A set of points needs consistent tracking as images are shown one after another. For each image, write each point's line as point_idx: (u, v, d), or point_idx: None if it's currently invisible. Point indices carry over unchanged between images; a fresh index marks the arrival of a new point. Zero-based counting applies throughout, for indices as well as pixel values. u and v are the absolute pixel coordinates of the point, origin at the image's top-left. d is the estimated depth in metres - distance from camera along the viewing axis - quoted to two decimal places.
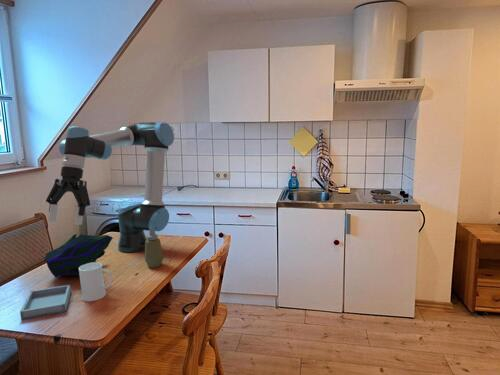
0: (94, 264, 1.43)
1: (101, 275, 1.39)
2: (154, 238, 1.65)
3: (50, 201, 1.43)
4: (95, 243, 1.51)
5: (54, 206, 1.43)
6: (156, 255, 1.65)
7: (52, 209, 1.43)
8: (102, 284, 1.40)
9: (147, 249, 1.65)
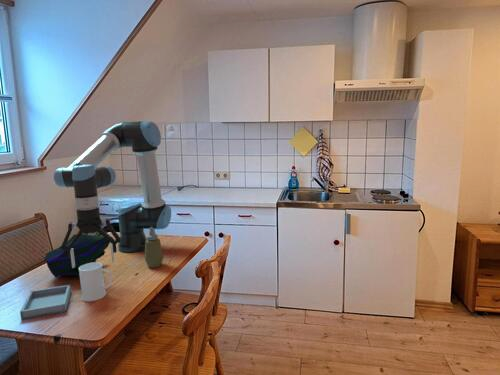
0: (94, 264, 1.43)
1: (101, 275, 1.39)
2: (154, 238, 1.65)
3: (68, 248, 1.34)
4: (95, 243, 1.51)
5: (73, 251, 1.35)
6: (156, 255, 1.65)
7: (73, 255, 1.35)
8: (102, 284, 1.40)
9: (147, 249, 1.65)
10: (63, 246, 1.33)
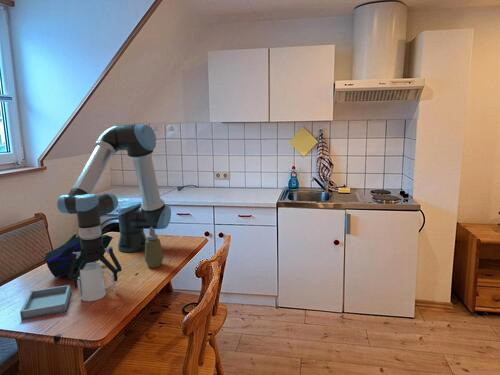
0: (94, 264, 1.43)
1: (101, 275, 1.39)
2: (154, 238, 1.65)
3: (75, 277, 1.36)
4: None
5: (79, 280, 1.38)
6: (156, 255, 1.65)
7: (80, 284, 1.38)
8: (102, 284, 1.40)
9: (147, 249, 1.65)
10: (70, 276, 1.36)
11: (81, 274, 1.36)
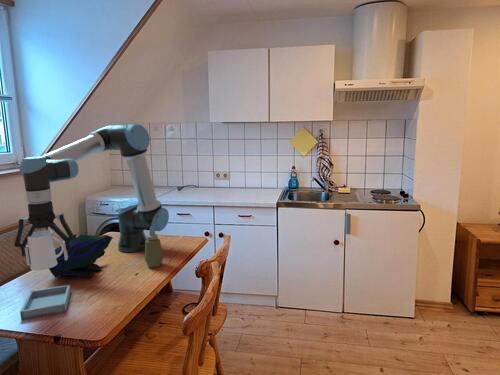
0: (45, 232, 1.35)
1: (51, 243, 1.32)
2: (154, 238, 1.65)
3: (22, 245, 1.29)
4: (95, 243, 1.51)
5: None
6: (156, 255, 1.65)
7: (28, 252, 1.30)
8: (52, 253, 1.32)
9: (147, 249, 1.65)
10: (17, 243, 1.28)
11: (29, 241, 1.28)
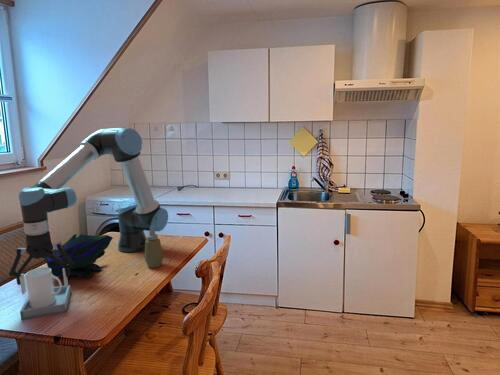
0: (44, 269, 1.37)
1: (50, 281, 1.34)
2: (154, 238, 1.65)
3: (17, 274, 1.30)
4: (95, 243, 1.51)
5: (22, 277, 1.32)
6: (156, 255, 1.65)
7: (23, 280, 1.31)
8: (51, 290, 1.34)
9: (147, 249, 1.65)
10: (12, 272, 1.29)
11: (28, 280, 1.31)
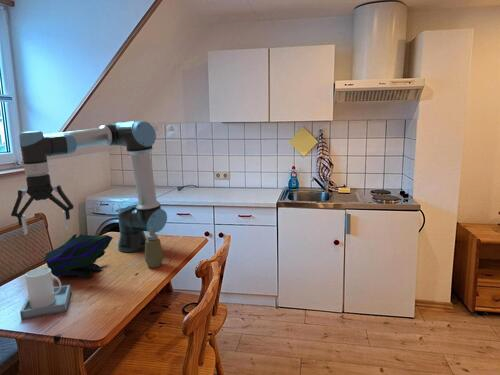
0: (43, 269, 1.37)
1: (49, 281, 1.34)
2: (154, 238, 1.65)
3: (19, 214, 1.34)
4: (95, 243, 1.51)
5: (24, 218, 1.36)
6: (156, 255, 1.65)
7: (24, 221, 1.35)
8: (50, 290, 1.34)
9: (147, 249, 1.65)
10: (13, 213, 1.33)
11: (27, 280, 1.31)
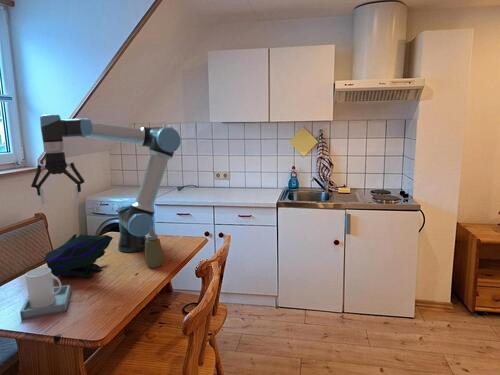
0: (43, 269, 1.37)
1: (49, 281, 1.34)
2: (154, 238, 1.65)
3: (38, 186, 1.56)
4: (95, 243, 1.51)
5: (42, 189, 1.58)
6: (156, 255, 1.65)
7: (42, 192, 1.57)
8: (50, 290, 1.34)
9: (147, 249, 1.65)
10: (33, 184, 1.55)
11: (27, 280, 1.31)
